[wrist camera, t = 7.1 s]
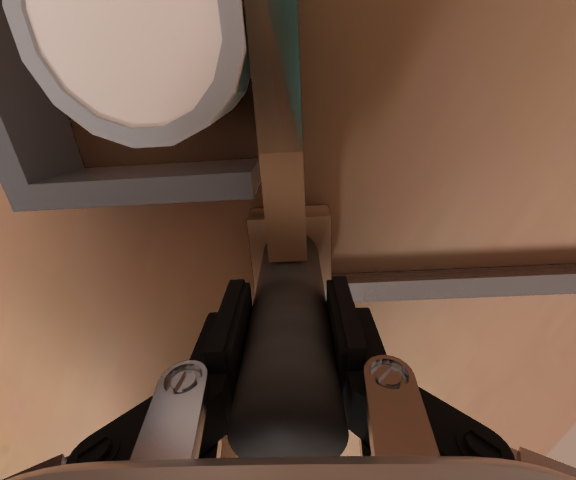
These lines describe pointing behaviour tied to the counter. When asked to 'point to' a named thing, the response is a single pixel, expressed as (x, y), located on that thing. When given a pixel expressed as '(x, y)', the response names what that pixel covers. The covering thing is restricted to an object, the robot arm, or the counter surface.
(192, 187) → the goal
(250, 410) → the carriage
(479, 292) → the rail
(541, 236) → the counter surface
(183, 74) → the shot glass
